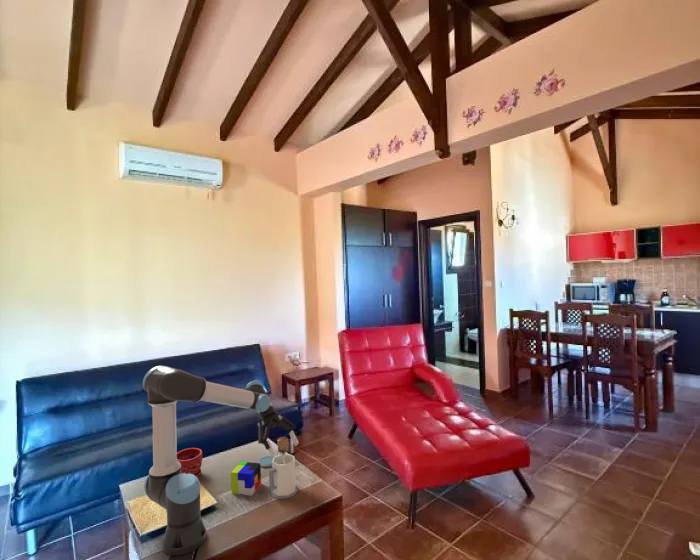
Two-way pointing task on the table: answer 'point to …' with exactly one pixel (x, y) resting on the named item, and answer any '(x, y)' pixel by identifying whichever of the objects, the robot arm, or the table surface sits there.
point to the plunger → (283, 447)
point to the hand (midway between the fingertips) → (285, 449)
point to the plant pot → (190, 461)
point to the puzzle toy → (246, 478)
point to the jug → (283, 477)
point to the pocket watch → (267, 460)
